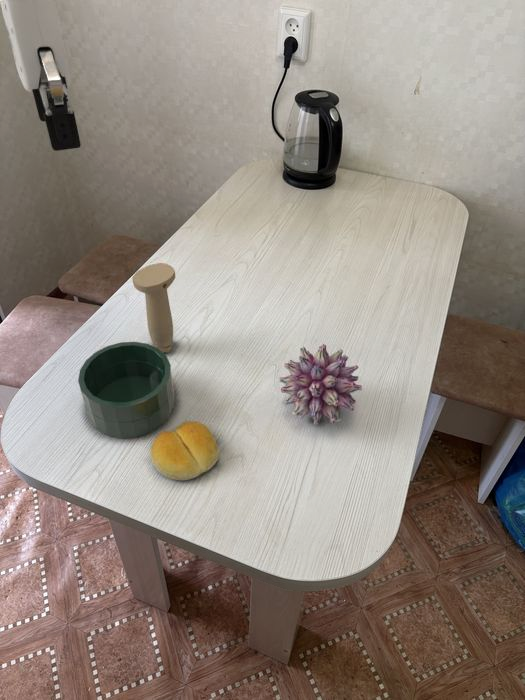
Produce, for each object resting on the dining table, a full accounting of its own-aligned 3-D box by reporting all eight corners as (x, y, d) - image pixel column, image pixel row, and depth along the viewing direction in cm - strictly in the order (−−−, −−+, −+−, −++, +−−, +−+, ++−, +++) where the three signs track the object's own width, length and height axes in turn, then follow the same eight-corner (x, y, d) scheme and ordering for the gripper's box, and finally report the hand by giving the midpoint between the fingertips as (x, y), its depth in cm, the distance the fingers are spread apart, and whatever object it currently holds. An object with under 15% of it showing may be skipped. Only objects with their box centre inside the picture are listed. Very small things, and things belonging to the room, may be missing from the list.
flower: (362, 419, 77) (317, 456, 69) (302, 377, 83) (254, 406, 75) (389, 361, 71) (343, 395, 63) (322, 319, 76) (272, 344, 68)
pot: (98, 450, 70) (89, 418, 65) (80, 387, 78) (70, 355, 73) (185, 421, 74) (182, 389, 69) (160, 365, 82) (155, 332, 77)
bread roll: (143, 448, 70) (139, 430, 67) (201, 423, 74) (200, 405, 71) (166, 494, 65) (163, 477, 62) (228, 465, 69) (228, 448, 66)
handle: (139, 350, 84) (125, 276, 74) (168, 332, 88) (160, 259, 77) (157, 364, 82) (146, 290, 72) (187, 345, 85) (181, 272, 75)
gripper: (-28, -52, 55) (18, 113, 67) (-15, -27, 44) (37, 166, 55) (45, -52, 57) (77, 107, 69) (74, -28, 46) (106, 156, 58)
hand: (59, 133), depth 62 cm, fingers open, 9 cm apart
